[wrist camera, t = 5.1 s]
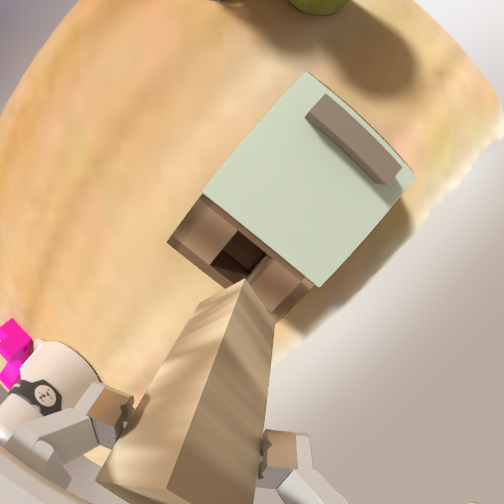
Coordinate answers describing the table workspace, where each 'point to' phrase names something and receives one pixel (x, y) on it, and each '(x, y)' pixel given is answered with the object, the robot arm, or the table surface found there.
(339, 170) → the lid
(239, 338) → the wooden block
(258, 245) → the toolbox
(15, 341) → the toy block
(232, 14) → the table surface
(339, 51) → the table surface
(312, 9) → the plant pot
